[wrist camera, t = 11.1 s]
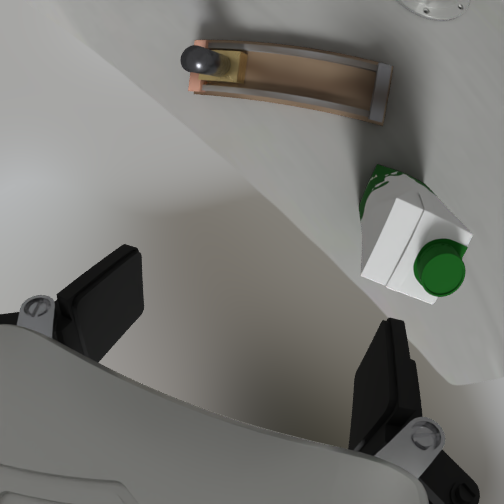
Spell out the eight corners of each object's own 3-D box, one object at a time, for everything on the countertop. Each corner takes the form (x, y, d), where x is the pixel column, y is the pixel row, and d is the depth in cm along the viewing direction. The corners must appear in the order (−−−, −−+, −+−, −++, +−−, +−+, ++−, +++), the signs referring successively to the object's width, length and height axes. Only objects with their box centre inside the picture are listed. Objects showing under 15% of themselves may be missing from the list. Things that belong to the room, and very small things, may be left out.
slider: (211, 53, 36) (174, 41, 27) (248, 55, 35) (219, 41, 26) (207, 80, 37) (170, 76, 29) (243, 83, 37) (213, 77, 28)
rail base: (205, 41, 37) (193, 36, 33) (391, 67, 32) (396, 63, 29) (198, 94, 40) (185, 93, 37) (381, 125, 36) (385, 127, 32)
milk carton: (406, 237, 41) (438, 325, 24) (349, 213, 42) (349, 292, 25) (432, 181, 37) (490, 240, 19) (372, 154, 38) (395, 193, 20)
